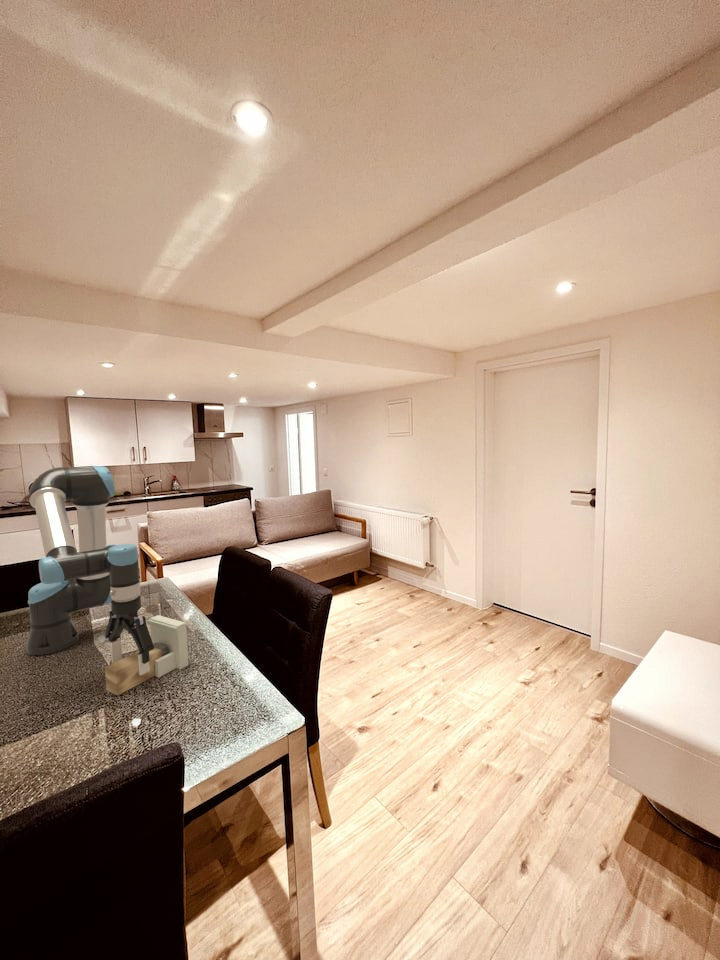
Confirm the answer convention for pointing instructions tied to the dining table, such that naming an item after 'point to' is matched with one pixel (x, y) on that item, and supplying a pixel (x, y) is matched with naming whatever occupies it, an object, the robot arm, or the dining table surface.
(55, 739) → the dining table surface
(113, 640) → the robot arm
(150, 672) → the tan and grey block
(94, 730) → the dining table surface
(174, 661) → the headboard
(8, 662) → the dining table surface
